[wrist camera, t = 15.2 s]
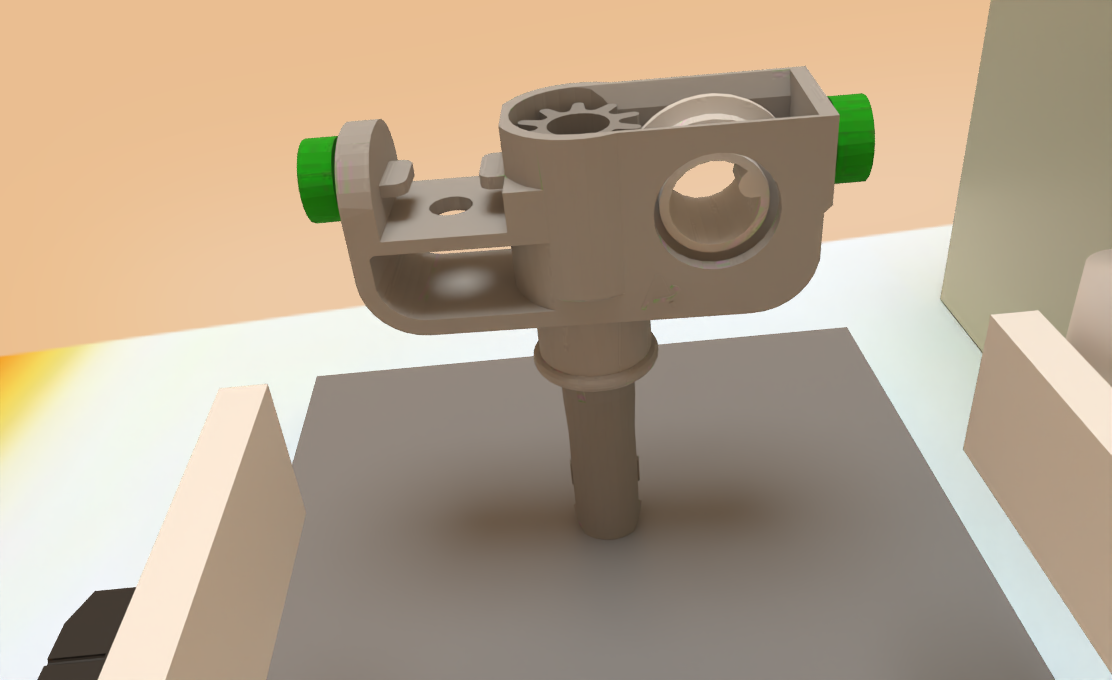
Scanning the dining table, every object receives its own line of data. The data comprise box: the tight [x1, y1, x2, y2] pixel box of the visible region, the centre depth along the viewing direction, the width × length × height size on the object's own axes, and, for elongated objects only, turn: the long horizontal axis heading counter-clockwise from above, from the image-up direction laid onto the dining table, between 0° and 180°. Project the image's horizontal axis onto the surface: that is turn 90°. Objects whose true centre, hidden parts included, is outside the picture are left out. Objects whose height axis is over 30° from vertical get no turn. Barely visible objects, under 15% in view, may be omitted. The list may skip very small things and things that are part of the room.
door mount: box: [266, 0, 1112, 680], centre depth 17 cm, size 22×20×22 cm
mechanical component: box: [297, 66, 875, 540], centre depth 20 cm, size 3×10×10 cm, turn 89°
